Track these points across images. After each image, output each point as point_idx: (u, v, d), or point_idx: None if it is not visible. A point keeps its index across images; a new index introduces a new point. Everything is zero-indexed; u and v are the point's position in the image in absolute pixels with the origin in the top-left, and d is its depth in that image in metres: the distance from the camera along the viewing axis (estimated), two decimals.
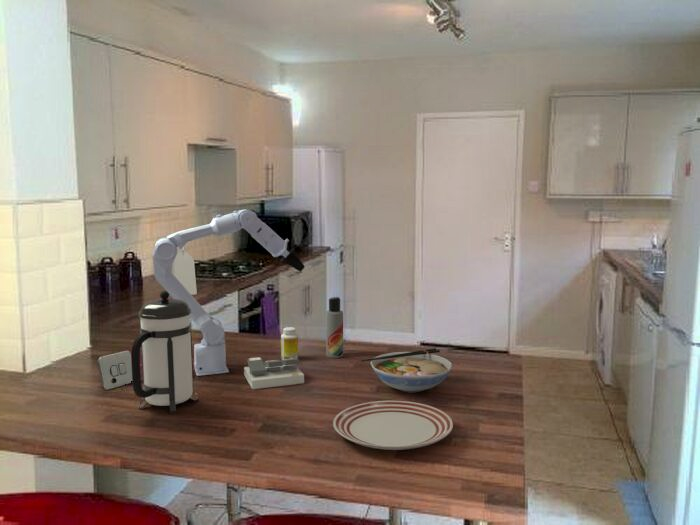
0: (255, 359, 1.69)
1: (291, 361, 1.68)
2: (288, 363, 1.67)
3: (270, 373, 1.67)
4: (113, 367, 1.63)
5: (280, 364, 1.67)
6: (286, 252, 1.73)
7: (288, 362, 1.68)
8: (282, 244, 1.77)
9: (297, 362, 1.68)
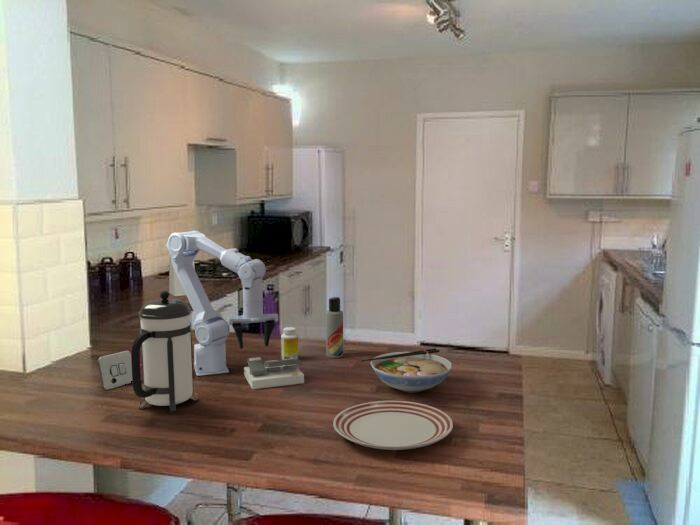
0: (255, 359, 1.69)
1: (291, 361, 1.68)
2: (288, 363, 1.67)
3: (270, 373, 1.67)
4: (113, 367, 1.63)
5: (280, 364, 1.67)
6: (228, 321, 1.66)
7: (288, 362, 1.68)
8: (246, 316, 1.67)
9: (297, 362, 1.68)
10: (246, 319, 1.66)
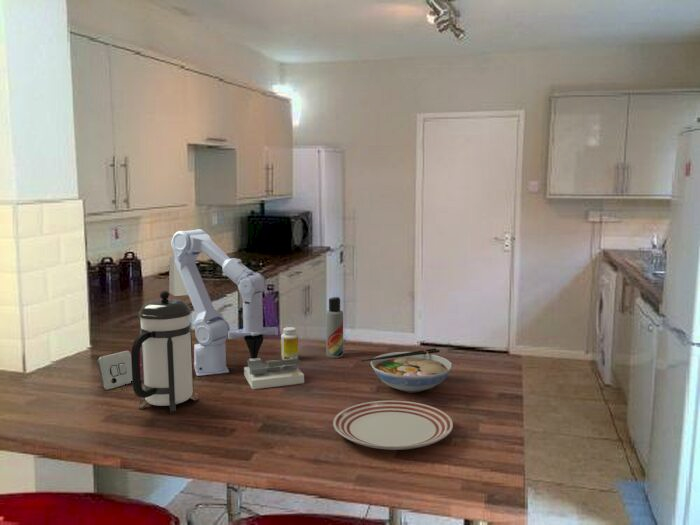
0: (255, 359, 1.69)
1: (291, 361, 1.68)
2: (288, 363, 1.67)
3: (270, 373, 1.67)
4: (113, 367, 1.63)
5: (280, 364, 1.67)
6: (228, 335, 1.67)
7: (288, 362, 1.68)
8: (246, 330, 1.68)
9: (297, 362, 1.68)
10: (246, 333, 1.67)
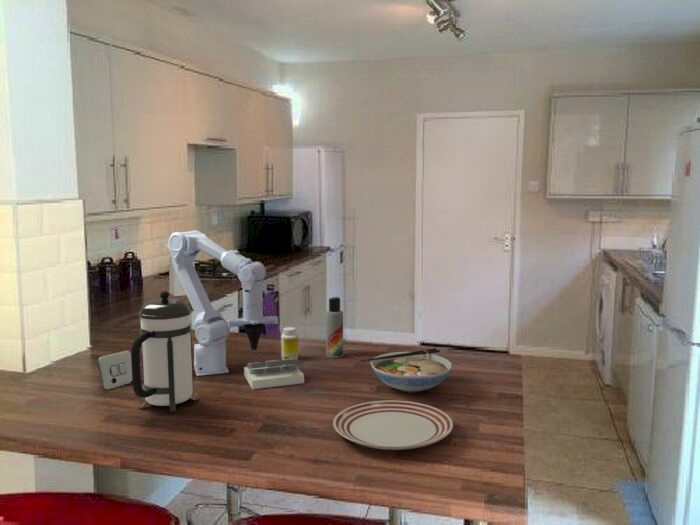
0: None
1: (291, 361, 1.68)
2: (288, 363, 1.67)
3: (270, 373, 1.67)
4: (113, 367, 1.63)
5: (280, 364, 1.67)
6: (228, 324, 1.66)
7: (288, 362, 1.68)
8: (246, 319, 1.67)
9: (297, 362, 1.68)
10: (246, 321, 1.66)
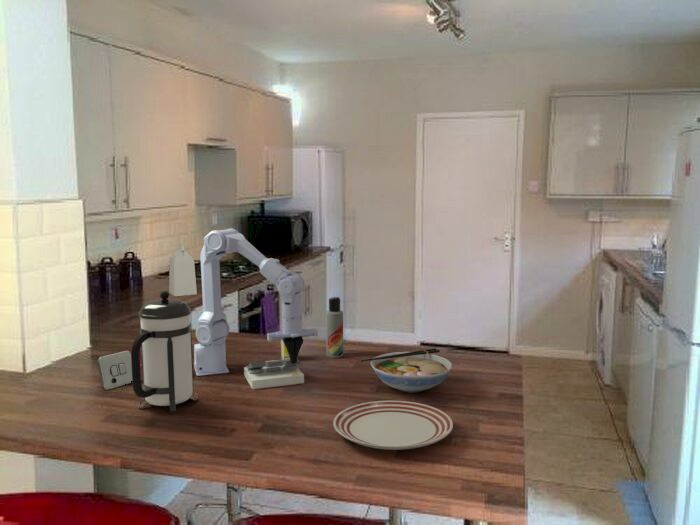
0: None
1: None
2: (288, 364, 1.67)
3: (270, 373, 1.67)
4: (113, 367, 1.63)
5: (280, 364, 1.67)
6: (268, 338, 1.63)
7: (288, 363, 1.67)
8: (285, 332, 1.64)
9: (297, 363, 1.68)
10: (286, 335, 1.63)
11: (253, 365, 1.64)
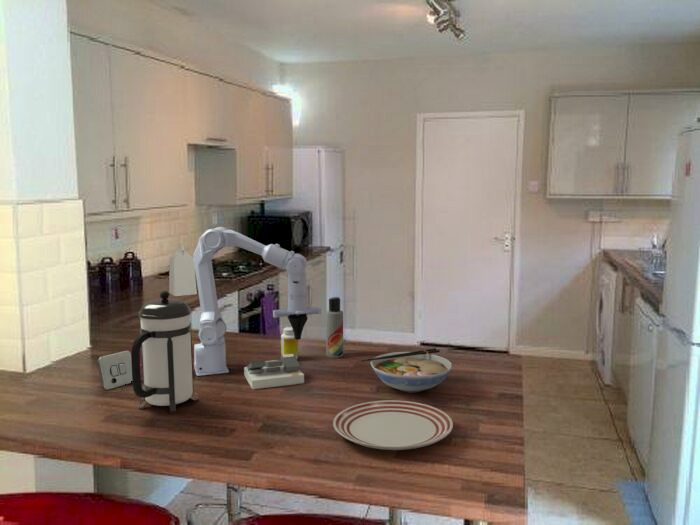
0: None
1: (292, 368, 1.68)
2: (288, 369, 1.67)
3: (270, 373, 1.67)
4: (113, 367, 1.63)
5: (280, 364, 1.67)
6: (273, 314, 1.71)
7: (289, 369, 1.67)
8: (290, 309, 1.72)
9: (297, 368, 1.68)
10: (291, 312, 1.71)
11: (253, 365, 1.64)
